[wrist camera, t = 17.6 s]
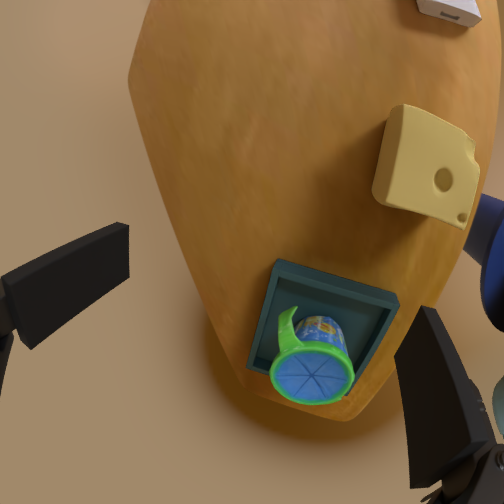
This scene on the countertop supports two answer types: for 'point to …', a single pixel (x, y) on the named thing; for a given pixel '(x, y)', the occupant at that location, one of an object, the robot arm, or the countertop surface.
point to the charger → (452, 10)
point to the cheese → (426, 166)
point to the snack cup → (311, 360)
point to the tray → (323, 313)
